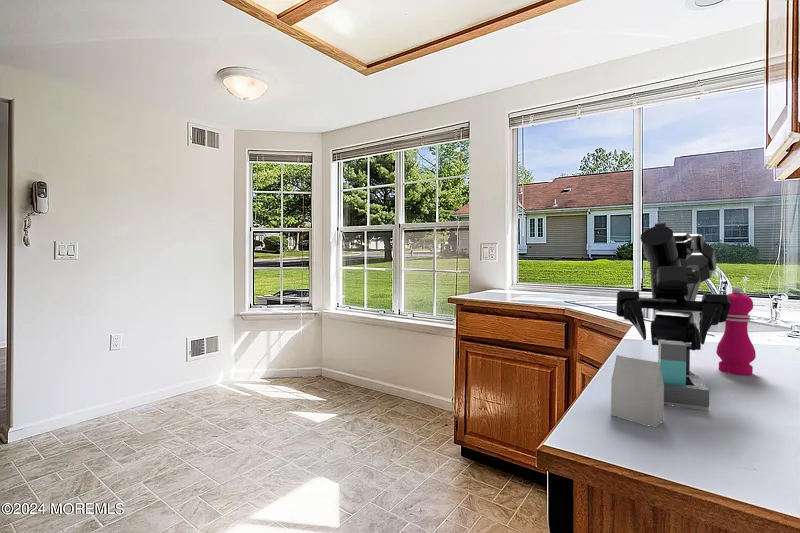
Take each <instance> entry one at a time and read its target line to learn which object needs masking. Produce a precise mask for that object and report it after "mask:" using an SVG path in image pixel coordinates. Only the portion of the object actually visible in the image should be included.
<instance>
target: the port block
mask: <svg viewBox="0 0 800 533" xmlns="http://www.w3.org/2000/svg"><path fill="white" fill-rule="evenodd" d="M664 404H666V405H665V406H668V405H671V406H670V407H676V406H677V407H676V408H686V409H691V408H693V410H701V411H706V412H708V411H709V412H710V389H709V387H707V385H706V384H705V382H703V381H702V379H701V378H700V377H699V375H696V374H695V375H686V385H680V384H671V383H664ZM672 405H673V406H672Z"/></svg>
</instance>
